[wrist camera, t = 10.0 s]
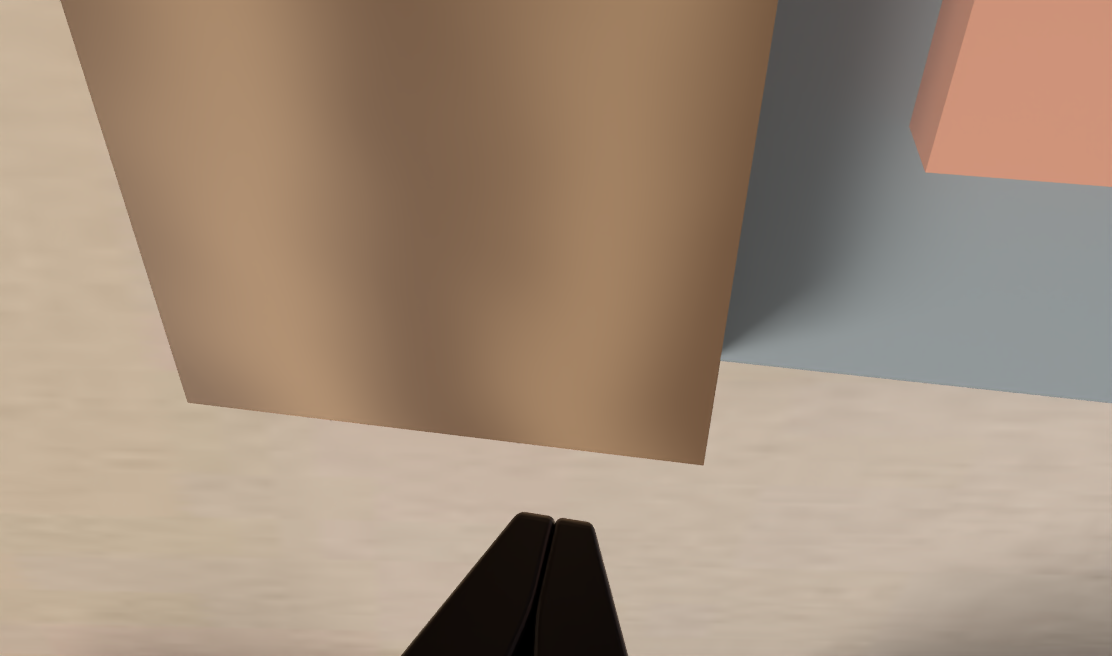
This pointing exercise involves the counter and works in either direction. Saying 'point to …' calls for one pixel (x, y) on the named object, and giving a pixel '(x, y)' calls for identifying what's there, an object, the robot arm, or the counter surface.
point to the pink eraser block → (1018, 91)
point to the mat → (905, 230)
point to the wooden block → (440, 205)
